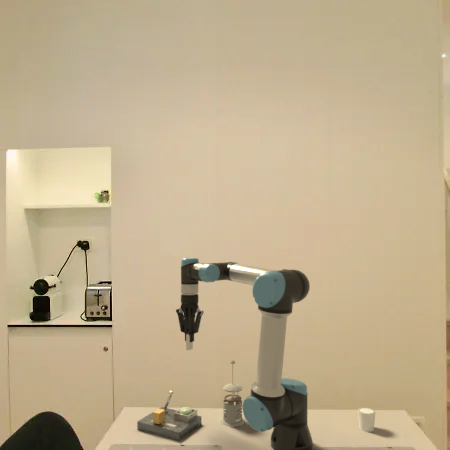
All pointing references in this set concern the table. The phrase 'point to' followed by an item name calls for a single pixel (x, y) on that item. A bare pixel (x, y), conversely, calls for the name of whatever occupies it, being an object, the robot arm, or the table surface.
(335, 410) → the table surface
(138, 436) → the table surface
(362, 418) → the white cylinder
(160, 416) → the yellow cube
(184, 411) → the push button
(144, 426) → the panel
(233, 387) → the french press
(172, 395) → the toggle lever
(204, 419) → the table surface
